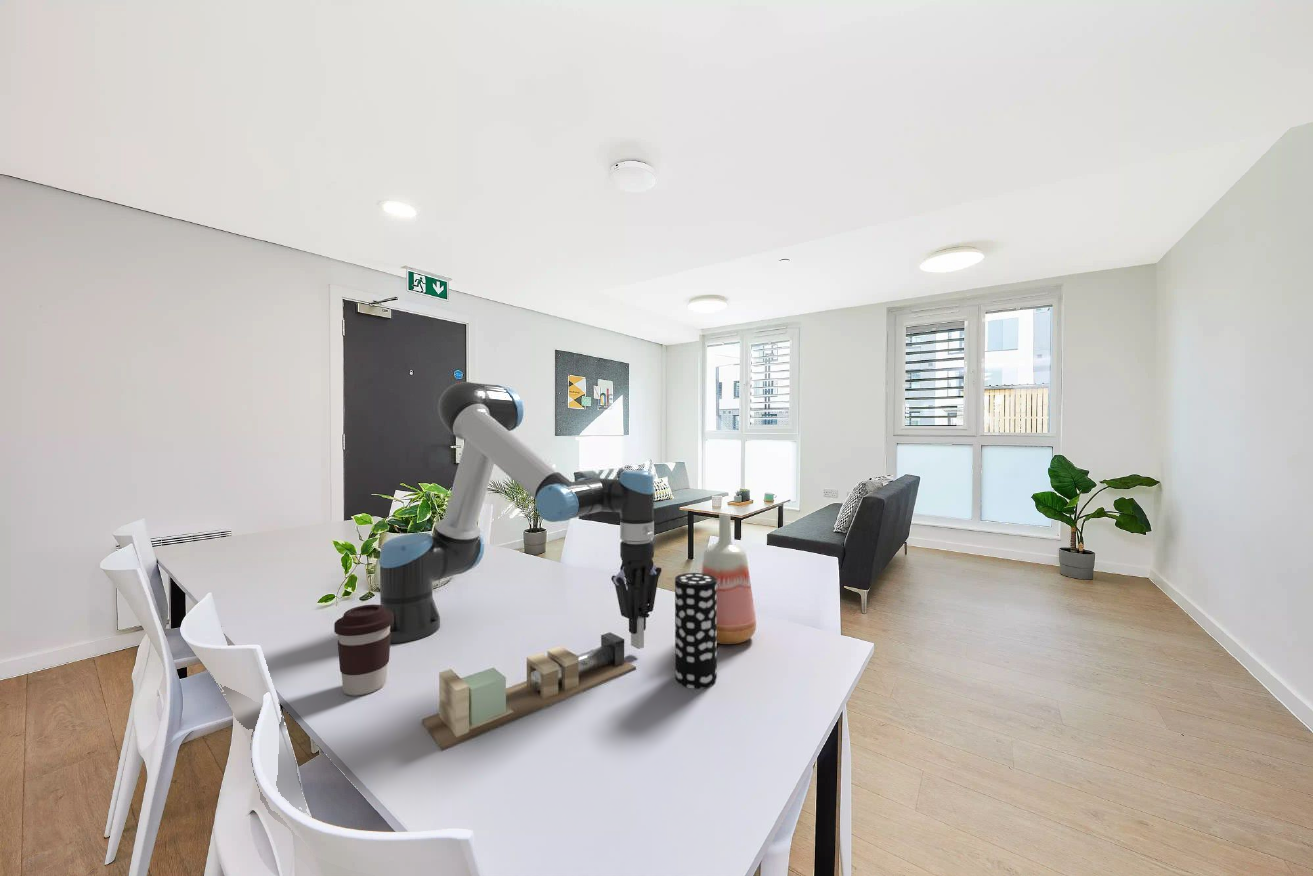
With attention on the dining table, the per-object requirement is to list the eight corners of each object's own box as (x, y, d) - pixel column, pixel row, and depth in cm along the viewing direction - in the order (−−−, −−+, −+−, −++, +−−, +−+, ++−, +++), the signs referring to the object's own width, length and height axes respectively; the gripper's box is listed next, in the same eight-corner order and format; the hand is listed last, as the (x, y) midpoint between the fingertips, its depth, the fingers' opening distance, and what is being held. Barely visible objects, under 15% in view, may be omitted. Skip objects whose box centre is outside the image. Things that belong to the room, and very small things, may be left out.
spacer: (460, 712, 85) (460, 678, 85) (493, 700, 89) (493, 667, 89) (471, 725, 81) (471, 689, 81) (505, 711, 85) (505, 677, 85)
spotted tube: (720, 671, 101) (720, 575, 101) (711, 691, 93) (711, 586, 93) (681, 665, 104) (681, 571, 103) (669, 684, 96) (669, 582, 96)
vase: (687, 644, 114) (687, 517, 114) (705, 622, 128) (705, 508, 128) (749, 654, 109) (749, 521, 109) (761, 630, 122) (760, 511, 122)
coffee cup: (367, 703, 89) (366, 621, 89) (321, 697, 91) (320, 617, 91) (405, 677, 99) (404, 603, 99) (363, 672, 101) (362, 599, 101)
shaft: (528, 685, 94) (528, 659, 94) (610, 655, 107) (610, 632, 107) (541, 695, 90) (541, 668, 90) (624, 662, 103) (624, 639, 103)
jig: (422, 722, 83) (421, 675, 83) (607, 653, 110) (607, 617, 110) (442, 750, 76) (442, 698, 76) (635, 669, 102) (635, 630, 102)
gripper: (624, 547, 102) (624, 661, 102) (670, 538, 110) (670, 643, 111) (603, 542, 107) (603, 649, 107) (648, 533, 116) (648, 633, 116)
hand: (637, 646), depth 109 cm, fingers closed
